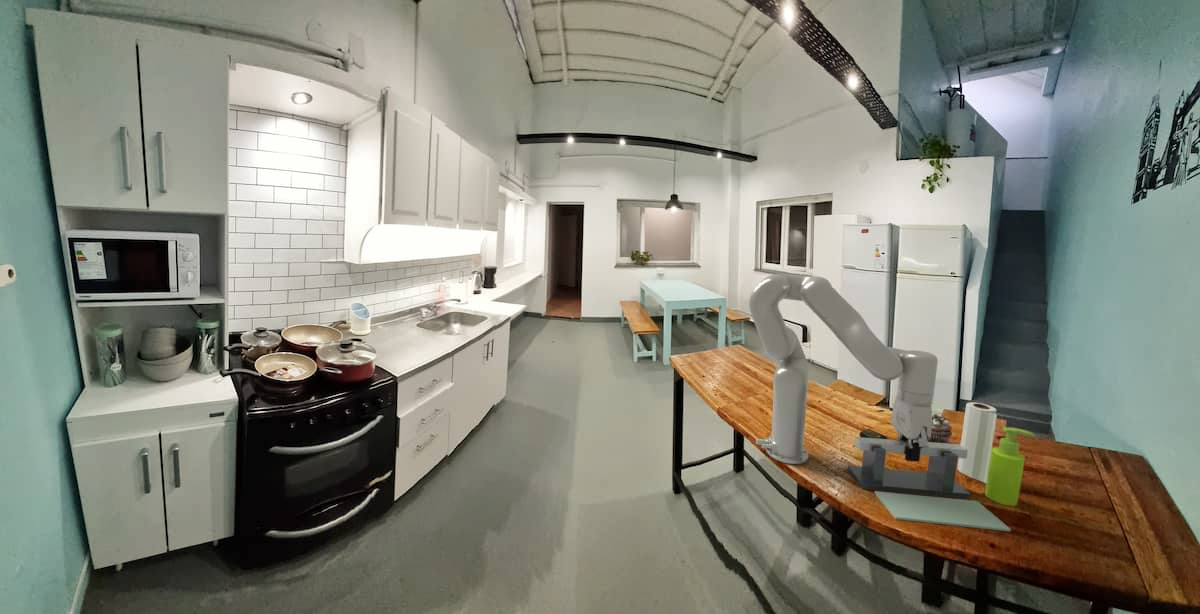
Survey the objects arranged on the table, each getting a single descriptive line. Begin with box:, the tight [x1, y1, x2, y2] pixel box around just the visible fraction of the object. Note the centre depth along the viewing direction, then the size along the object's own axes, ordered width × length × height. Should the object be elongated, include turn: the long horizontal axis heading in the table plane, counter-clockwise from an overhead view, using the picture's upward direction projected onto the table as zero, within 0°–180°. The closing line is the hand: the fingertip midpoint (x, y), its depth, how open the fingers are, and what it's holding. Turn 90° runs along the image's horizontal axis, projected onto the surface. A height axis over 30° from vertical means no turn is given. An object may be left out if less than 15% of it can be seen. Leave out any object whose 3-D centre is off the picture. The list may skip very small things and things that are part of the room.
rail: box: [854, 436, 968, 459], centre depth 103 cm, size 26×3×2 cm, turn 78°
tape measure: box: [859, 428, 889, 439], centre depth 127 cm, size 7×7×4 cm
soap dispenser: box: [984, 426, 1036, 507], centre depth 96 cm, size 6×7×20 cm
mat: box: [874, 490, 1012, 532], centre depth 94 cm, size 24×10×1 cm, turn 78°
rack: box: [846, 447, 972, 500], centre depth 104 cm, size 26×9×12 cm, turn 78°
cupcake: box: [915, 413, 953, 444], centre depth 125 cm, size 10×10×10 cm
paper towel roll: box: [956, 401, 998, 484], centre depth 107 cm, size 7×6×21 cm
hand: (907, 456), depth 104 cm, fingers closed on rail, 3 cm apart
